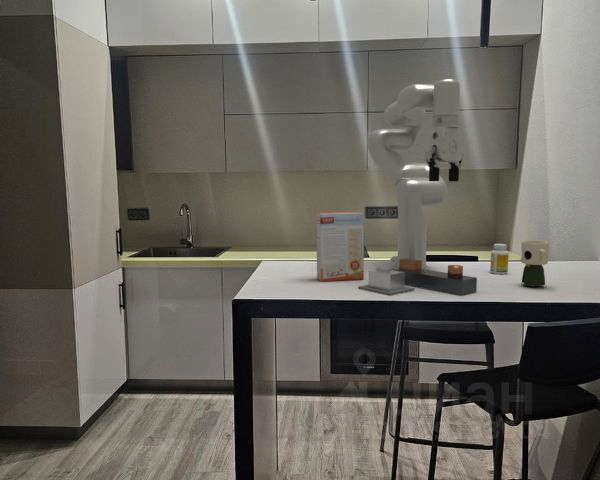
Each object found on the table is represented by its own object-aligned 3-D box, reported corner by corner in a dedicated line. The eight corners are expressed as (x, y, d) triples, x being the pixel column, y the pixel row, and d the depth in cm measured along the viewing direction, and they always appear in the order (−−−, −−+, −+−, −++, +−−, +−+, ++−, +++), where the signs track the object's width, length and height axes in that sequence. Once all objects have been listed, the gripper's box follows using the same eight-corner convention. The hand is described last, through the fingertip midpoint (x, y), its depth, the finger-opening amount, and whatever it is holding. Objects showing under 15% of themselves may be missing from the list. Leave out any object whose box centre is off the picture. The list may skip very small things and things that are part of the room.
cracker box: (358, 276, 161) (358, 211, 159) (364, 280, 155) (364, 212, 153) (315, 278, 158) (315, 212, 156) (320, 281, 152) (320, 213, 150)
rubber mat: (358, 288, 142) (358, 286, 142) (382, 284, 148) (382, 282, 148) (390, 295, 133) (390, 293, 132) (414, 290, 139) (414, 288, 139)
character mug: (512, 282, 149) (513, 239, 148) (535, 282, 149) (537, 239, 148) (530, 290, 138) (532, 243, 137) (555, 290, 139) (557, 243, 137)
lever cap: (368, 286, 142) (368, 268, 141) (382, 283, 145) (383, 266, 145) (389, 291, 135) (390, 271, 135) (404, 288, 139) (404, 269, 138)
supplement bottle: (487, 272, 166) (488, 244, 165) (495, 271, 170) (496, 243, 169) (502, 275, 162) (503, 245, 161) (510, 273, 166) (511, 244, 165)
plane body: (392, 282, 151) (392, 259, 150) (407, 279, 155) (407, 257, 154) (461, 295, 132) (462, 269, 131) (476, 291, 136) (477, 266, 136)
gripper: (438, 119, 140) (436, 181, 141) (473, 124, 150) (471, 181, 152) (416, 122, 145) (415, 181, 147) (451, 126, 156) (450, 181, 158)
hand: (444, 181), depth 150 cm, fingers open, 9 cm apart
